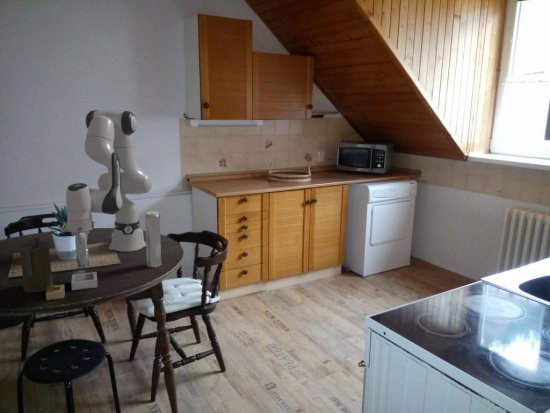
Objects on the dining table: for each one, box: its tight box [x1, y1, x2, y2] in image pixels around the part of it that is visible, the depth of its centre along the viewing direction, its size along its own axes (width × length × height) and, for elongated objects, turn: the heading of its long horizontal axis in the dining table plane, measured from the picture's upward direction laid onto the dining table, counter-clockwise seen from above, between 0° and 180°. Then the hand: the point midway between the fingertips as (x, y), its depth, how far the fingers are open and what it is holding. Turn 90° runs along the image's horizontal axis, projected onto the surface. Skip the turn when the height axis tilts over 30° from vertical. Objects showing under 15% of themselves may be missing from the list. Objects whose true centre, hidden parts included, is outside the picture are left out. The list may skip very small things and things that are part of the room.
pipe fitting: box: [75, 247, 90, 269], centre depth 169 cm, size 5×5×7 cm
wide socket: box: [71, 271, 98, 291], centre depth 172 cm, size 9×9×3 cm
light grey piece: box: [144, 210, 162, 268], centre depth 192 cm, size 6×6×25 cm
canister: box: [18, 236, 54, 293], centre depth 166 cm, size 11×10×20 cm
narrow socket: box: [45, 284, 66, 301], centre depth 161 cm, size 6×6×3 cm
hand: (82, 258), depth 169 cm, fingers closed on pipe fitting, 4 cm apart
